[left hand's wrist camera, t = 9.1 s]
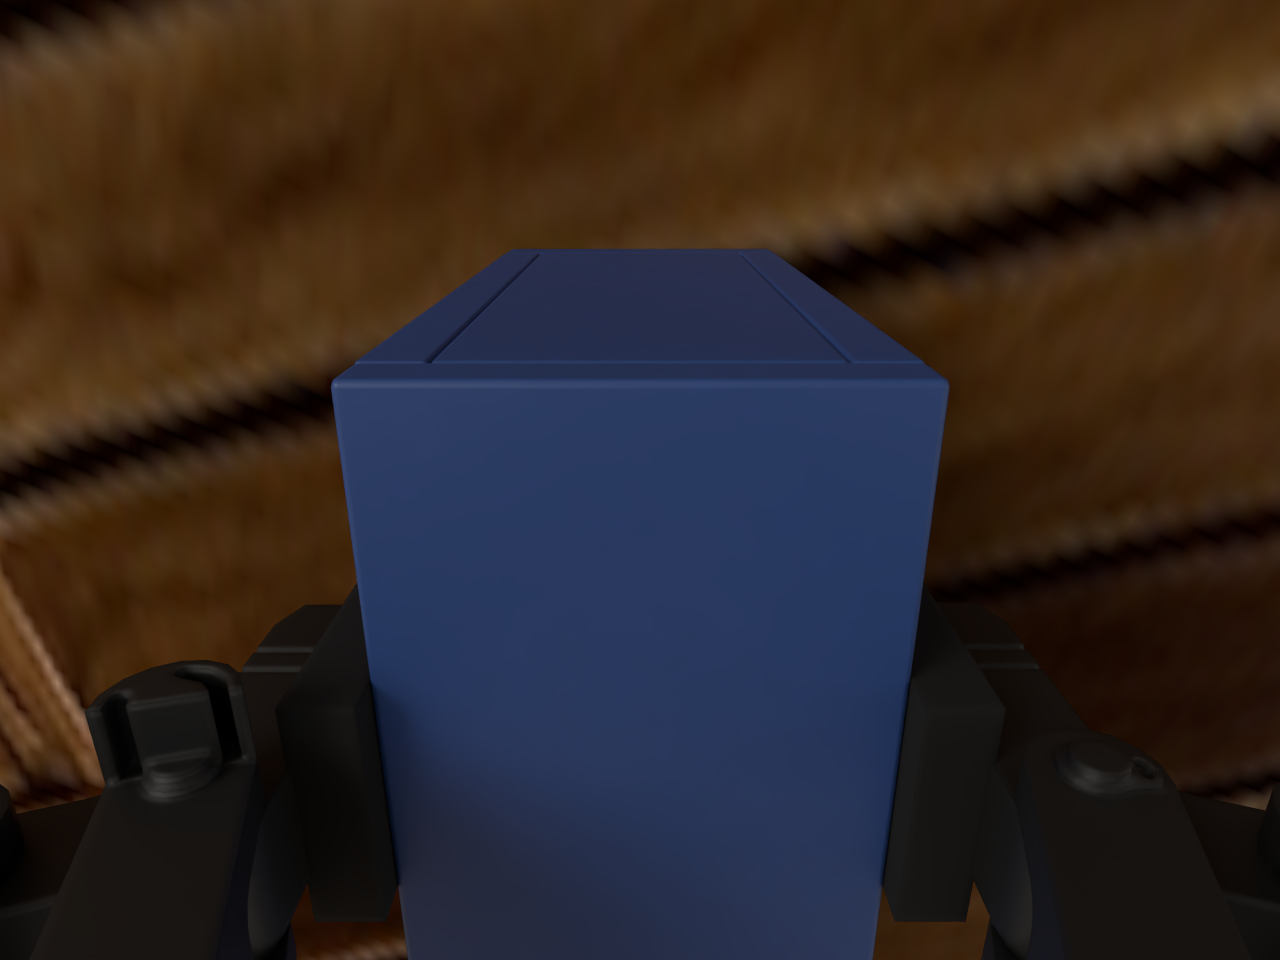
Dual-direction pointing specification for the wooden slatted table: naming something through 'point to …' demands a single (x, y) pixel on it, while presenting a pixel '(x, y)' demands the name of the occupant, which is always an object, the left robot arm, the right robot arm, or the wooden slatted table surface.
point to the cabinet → (640, 604)
